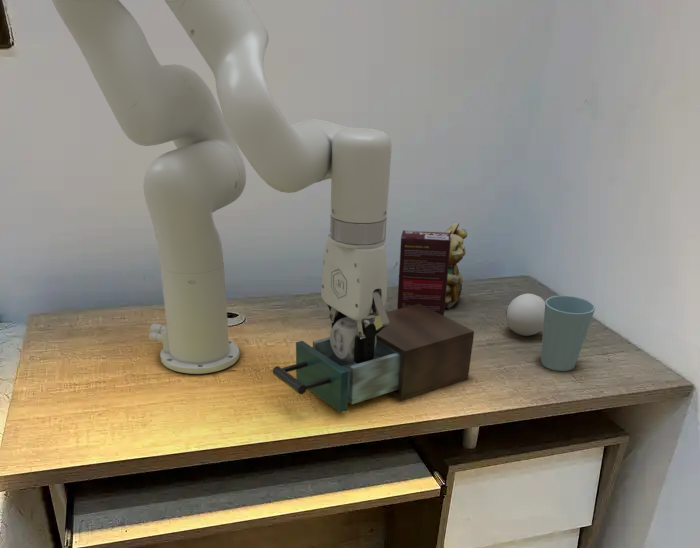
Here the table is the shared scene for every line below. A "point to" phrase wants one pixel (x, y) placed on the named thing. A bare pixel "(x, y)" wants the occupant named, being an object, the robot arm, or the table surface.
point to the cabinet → (427, 349)
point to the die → (345, 338)
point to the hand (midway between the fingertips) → (352, 352)
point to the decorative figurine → (455, 264)
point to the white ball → (526, 314)
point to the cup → (564, 330)
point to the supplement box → (423, 269)
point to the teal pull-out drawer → (341, 374)
